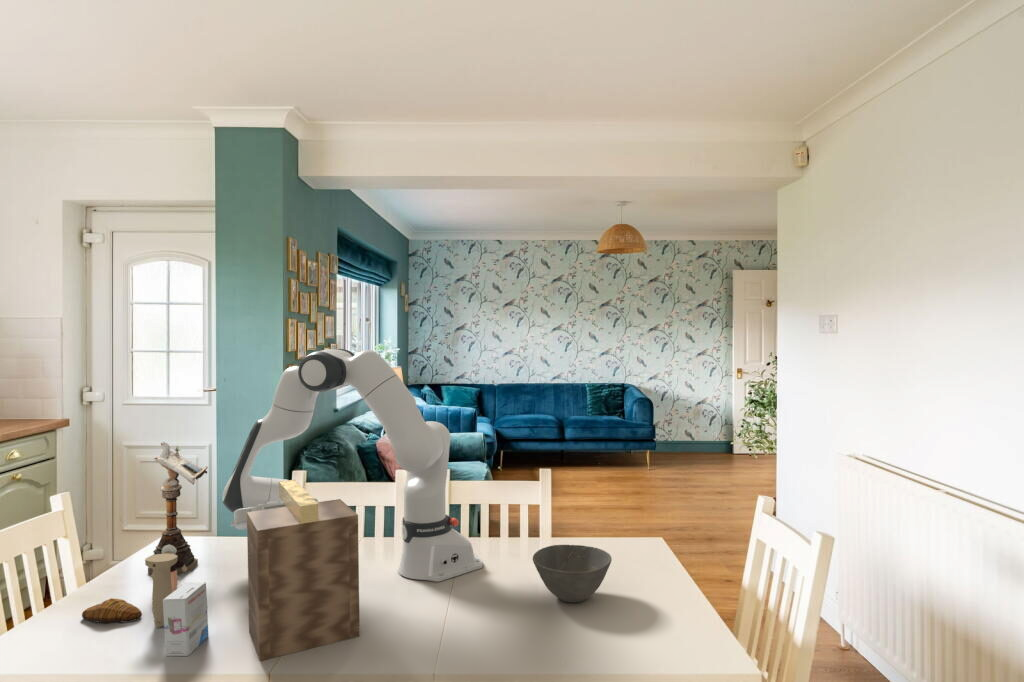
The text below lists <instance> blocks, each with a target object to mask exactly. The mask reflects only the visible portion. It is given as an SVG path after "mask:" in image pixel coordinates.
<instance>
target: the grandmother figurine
mask: <svg viewBox="0 0 1024 682" xmlns="http://www.w3.org/2000/svg"><path fill="white" fill-rule="evenodd" d="M176 552H177V550H176V548H175V547H174V546H173V545H170V544H169V545H166V546H164V547H163V548H162V554H174V555H175V554H176ZM176 567H179V568H181V569H182V570H183V571H184V572H185V571H187V568H186V566H185V563H184V562H183V561H181V560H179V559H177V562H176V563H175V564H174V565H173V566H171V567H170V574H171V586H172V593H173V592H174V591H175V590H176V589H178V575H177V570H176ZM150 578H151V579H153V573H152V575H150Z"/></svg>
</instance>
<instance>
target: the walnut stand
mask: <svg viewBox="0 0 1024 682" xmlns="http://www.w3.org/2000/svg"><path fill="white" fill-rule="evenodd" d="M317 503H318V519H319V521H316V522H309V523H303V524H300V523H299V521H298V520H297V519H296V518H295V516H294V515H293V514H292V513H291V511H290V510H289V509H288V508H287V507H280V508H273V509H266V510H259V511H252V512H247V529H246V530H247V531H246V533H247V538H246V539H247V580H248V581H247V583H248V585H247V587H248V589H247V590H248V592H247V594H248V631H249V635H250V637H251V640H252V644H253V647H254V649H255V652H256V654H257V658H258V661H259V662H262V661H266V660H270V659H274V658H279V657H283V656H287V655H291V654H294V653H297V652H301V651H305V650H310V649H314V648H317V647H321V646H322V647H323V646H327V645H330V644H333V643H337V642H341V641H347V640H350V639H354V638H358V637H360V635H361V634H360V632H361V631H360V579H359V578H360V573H359V571H360V570H359V569H360V567H359V566H360V563H359V562H360V561H359V560H360V559H359V557H360V555H359V515H358V513H356V511H354V510H353V509H352V507H350V506H349V505H348V504H347V503H345V502H344V501H343V500H342V499H341V498H338V499H330V500H324V501H323V500H322V501H318V502H317Z"/></svg>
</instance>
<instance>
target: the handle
mask: <svg viewBox="0 0 1024 682" xmlns="http://www.w3.org/2000/svg"><path fill="white" fill-rule="evenodd" d="M144 561H145V563H144V564H145V566H147V568H148V567H150V568H152V569H153V578H152V595H151V596H152V597H151V599H152V600H151V602H152V604H151V605H152V606H151V607H152V608H151V609H152V614H153V619H154V620H153V622H154V626H155V627H157V628H158V629H159V628H164V614H163V599H165V598H166V597H167V596H169V595H170V594H171V593H172V586H171V574H170V567H171V566H173V565H174V564H175V563H176V562H177V555H174V554H155V555H154V554H152V555H149V556H148V557H146V558H145V559H144Z"/></svg>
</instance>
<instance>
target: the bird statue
mask: <svg viewBox="0 0 1024 682" xmlns="http://www.w3.org/2000/svg"><path fill="white" fill-rule="evenodd" d="M160 446H161V448H162V451H161V453H160V456H155V457H154V461H155V462H157V463H158V464H160V465H161V467H163V468H165V469H166V470H167V474H168V477H167V478H166V479H164V481H163V482H162V485H163V486H162V487H160V491H161V492H162V493H161V497H162V498H163V499H165V504H166V506H165V507H166V512H165V513H164V515H165V516H166V528H165V529H163V531H162V532H161V537H160V539H159V542H158V544H157V545H155V549H154V550H153V555H155V554H162V548H163V547H164V546H166V545H169V544H170V545H173V546H174V547H175V548H176V550H177V552H176V554H175V555H177V559H179V560H181V561H183V562H184V563H185V566H186V568H187V571H185V572H184V571H183V570H182V569H181V568H179V567H176V570H177V576H181V575H184V574H187V573H190V572H192V571H193V570H194V569H195V568H197V566H198V565H199V561H198V558H196V557H195V555H194V553H193V552H192V549H191V545H190V544H188V543H189V542H188V541H186V539H185V538H184V536H183V533H182V530H181V528H179V527H178V526H177V523H178V522H177V516H178V514H179V512H178V511H177V501H178V498H179V497H181V489H182V485H181V484H179V483H180V480H179V479H178V477H179V476H181V477H183V478H184V479H186V480H187V481H188V482H189V483H190V484H192V485H194V484H195V483H196V480H199V479H200V478H202V477H203V476H204V475H205V474H208V471H207V470H208V466H205V467H204V468H202V467H200V466H198V465H196V464H195V463H193V462H191V461H189V460H188V459H186V458H185V457H183V456H181V454H180V453H179V451H181V448H179V445H177V446H176V448H174V449H173V450H174V451H173V450H171V449H170V448H171V447H170V445H169V443H167V442H164V441H161V442H160ZM147 573H148V575H150V576H151V575H152V573H153V569H152V568H150V567H148V566H147Z"/></svg>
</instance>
